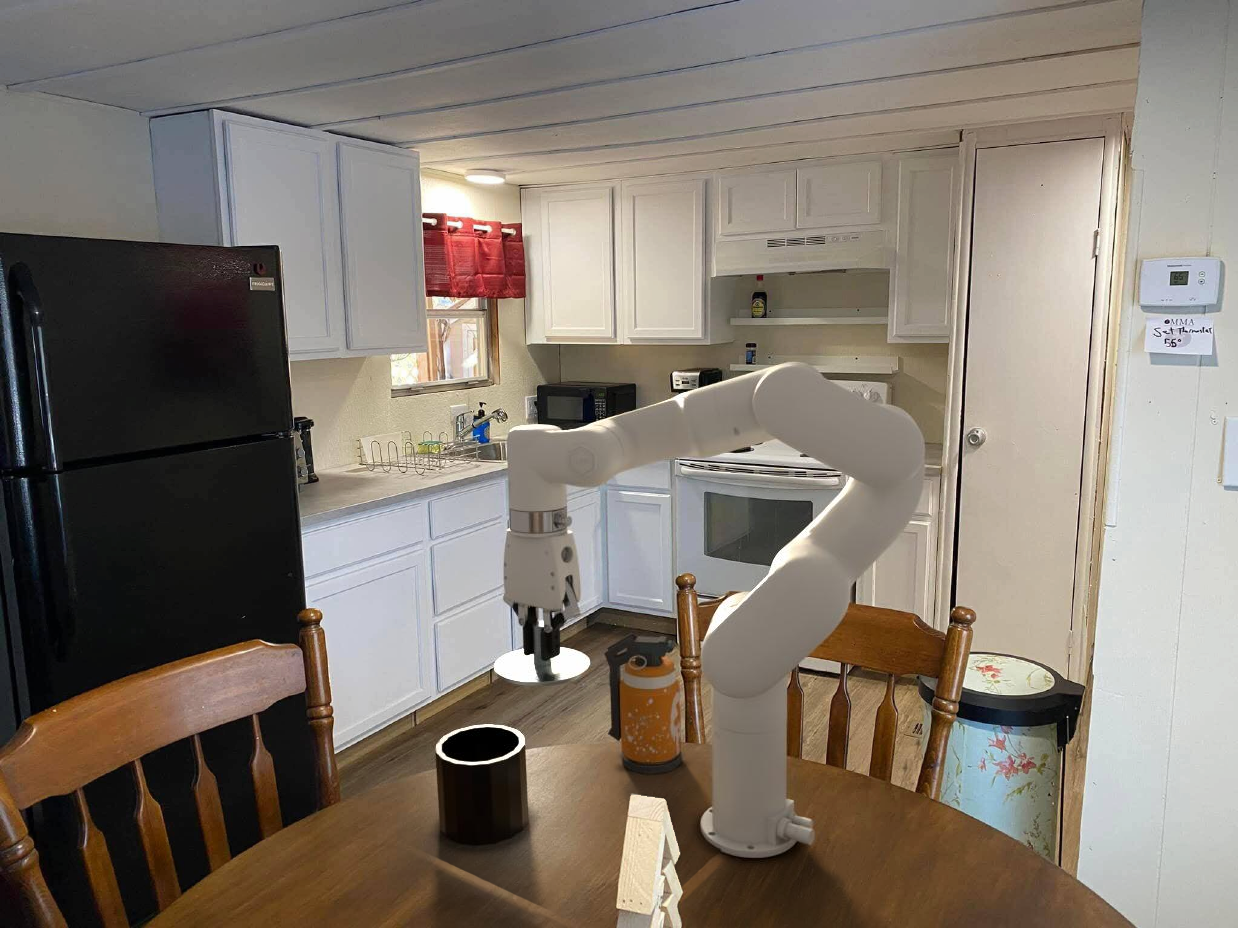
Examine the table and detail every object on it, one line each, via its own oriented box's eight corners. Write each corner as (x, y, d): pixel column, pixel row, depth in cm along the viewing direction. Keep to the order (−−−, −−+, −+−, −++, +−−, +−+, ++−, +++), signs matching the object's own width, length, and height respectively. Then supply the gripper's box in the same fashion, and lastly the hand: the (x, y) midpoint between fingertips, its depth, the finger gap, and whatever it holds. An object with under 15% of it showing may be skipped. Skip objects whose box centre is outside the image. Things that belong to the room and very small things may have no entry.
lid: (609, 667, 123) (609, 619, 122) (546, 699, 113) (545, 647, 112) (538, 648, 130) (537, 603, 129) (474, 676, 120) (472, 627, 119)
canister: (676, 780, 132) (674, 648, 129) (602, 774, 134) (598, 644, 131) (684, 751, 141) (682, 627, 138) (614, 746, 143) (611, 624, 140)
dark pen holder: (546, 818, 123) (542, 737, 121) (485, 859, 113) (480, 773, 112) (484, 794, 129) (480, 717, 128) (422, 831, 120) (416, 749, 119)
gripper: (604, 522, 117) (607, 659, 119) (513, 508, 126) (517, 635, 129) (567, 533, 111) (570, 677, 113) (473, 518, 120) (478, 651, 123)
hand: (541, 654), depth 121 cm, fingers closed on lid, 2 cm apart
